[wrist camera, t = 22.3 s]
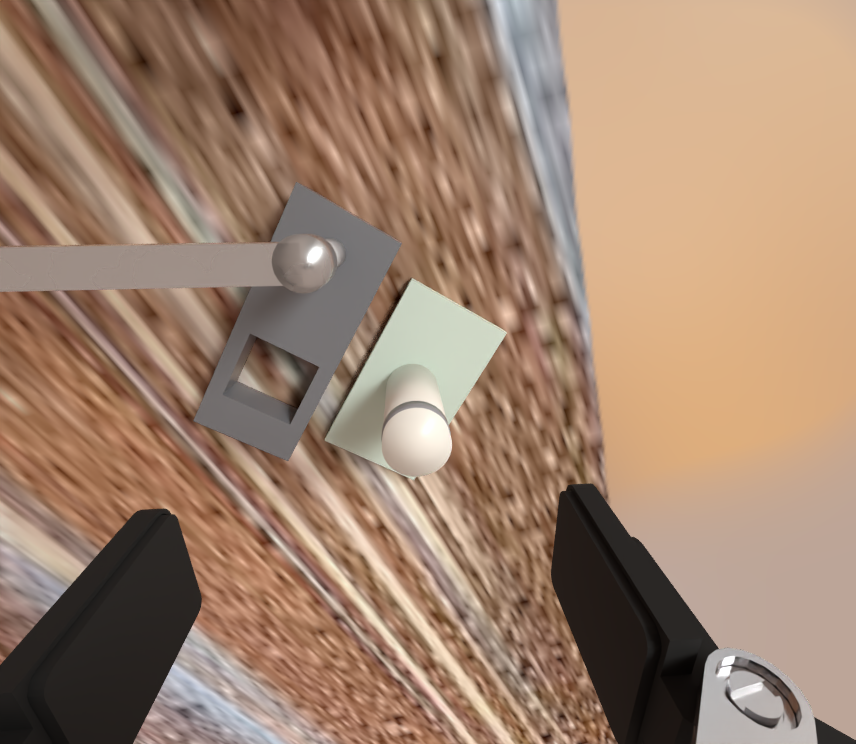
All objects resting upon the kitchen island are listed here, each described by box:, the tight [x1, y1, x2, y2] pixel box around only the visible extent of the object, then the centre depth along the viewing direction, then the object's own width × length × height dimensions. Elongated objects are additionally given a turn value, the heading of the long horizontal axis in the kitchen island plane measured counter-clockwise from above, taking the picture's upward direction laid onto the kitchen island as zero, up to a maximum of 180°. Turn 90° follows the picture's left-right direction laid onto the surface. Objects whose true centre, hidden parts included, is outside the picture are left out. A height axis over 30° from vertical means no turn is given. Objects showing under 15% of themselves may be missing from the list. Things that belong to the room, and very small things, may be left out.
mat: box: [324, 278, 507, 480], centre depth 36 cm, size 16×9×1 cm, turn 151°
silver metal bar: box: [0, 234, 337, 294], centre depth 21 cm, size 19×3×2 cm, turn 91°
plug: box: [381, 364, 452, 477], centre depth 30 cm, size 4×4×10 cm
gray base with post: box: [194, 182, 402, 461], centre depth 29 cm, size 20×8×10 cm, turn 151°
